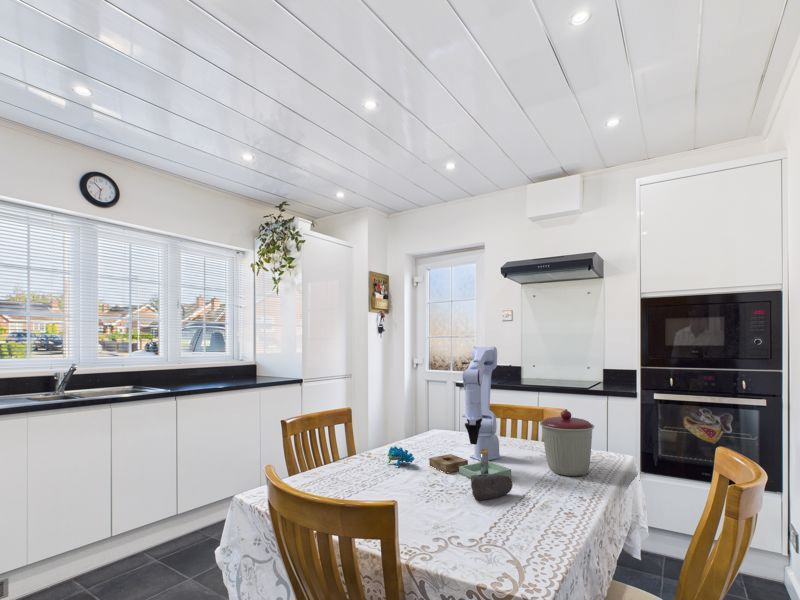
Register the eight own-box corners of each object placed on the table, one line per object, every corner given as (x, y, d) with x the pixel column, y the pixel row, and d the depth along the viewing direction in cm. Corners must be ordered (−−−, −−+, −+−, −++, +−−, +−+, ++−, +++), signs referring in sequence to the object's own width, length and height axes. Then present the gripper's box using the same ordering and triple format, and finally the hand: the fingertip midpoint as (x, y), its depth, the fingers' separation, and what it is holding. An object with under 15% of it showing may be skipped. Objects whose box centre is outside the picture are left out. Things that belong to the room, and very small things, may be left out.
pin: (485, 472, 152) (484, 448, 152) (490, 474, 149) (489, 450, 150) (479, 473, 150) (478, 449, 151) (483, 475, 148) (483, 451, 149)
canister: (536, 475, 149) (534, 413, 150) (545, 461, 165) (543, 405, 166) (594, 483, 140) (591, 417, 142) (598, 468, 156) (595, 408, 158)
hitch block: (450, 461, 166) (450, 453, 166) (468, 468, 157) (467, 460, 158) (429, 466, 161) (429, 458, 161) (445, 473, 152) (445, 464, 152)
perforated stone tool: (508, 491, 135) (507, 468, 135) (518, 497, 130) (517, 473, 130) (465, 497, 130) (464, 474, 130) (473, 504, 125) (473, 479, 125)
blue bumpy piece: (419, 460, 163) (405, 444, 159) (414, 474, 159) (399, 459, 155) (397, 459, 170) (383, 444, 165) (391, 473, 166) (376, 458, 161)
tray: (487, 467, 158) (487, 460, 158) (511, 476, 148) (511, 469, 148) (459, 474, 151) (459, 466, 152) (482, 484, 141) (482, 476, 141)
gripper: (463, 399, 164) (464, 436, 163) (460, 405, 150) (461, 446, 149) (482, 399, 163) (483, 436, 162) (481, 406, 149) (482, 447, 148)
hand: (474, 441), depth 155 cm, fingers open, 7 cm apart
